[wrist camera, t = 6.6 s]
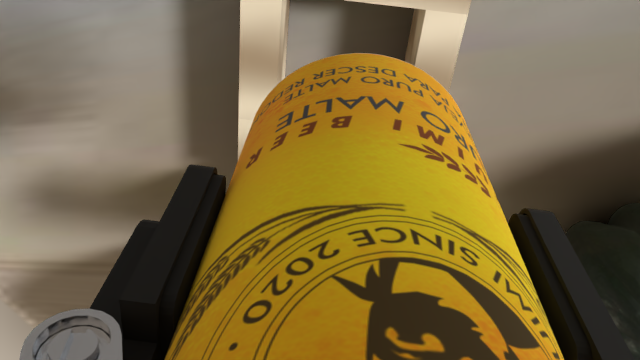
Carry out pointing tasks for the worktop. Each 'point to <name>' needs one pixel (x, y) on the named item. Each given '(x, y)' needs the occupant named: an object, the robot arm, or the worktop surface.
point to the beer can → (361, 232)
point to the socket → (273, 3)
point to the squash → (614, 267)
